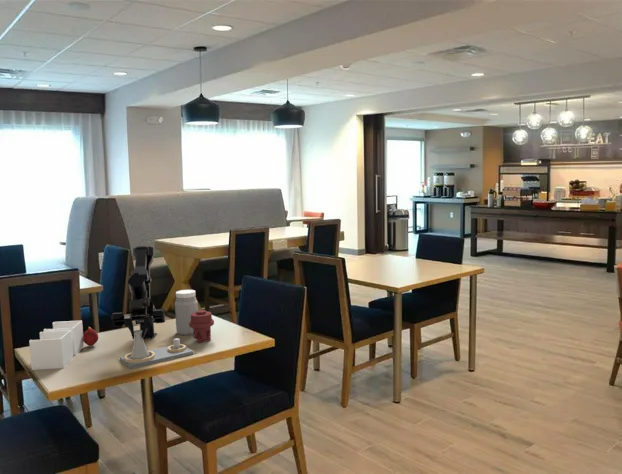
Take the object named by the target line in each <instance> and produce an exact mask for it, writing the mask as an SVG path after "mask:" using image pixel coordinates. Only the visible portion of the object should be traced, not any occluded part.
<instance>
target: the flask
mask: <svg viewBox="0 0 622 474" xmlns="http://www.w3.org/2000/svg"><path fill="white" fill-rule="evenodd" d="M142 331H143V330H140V329H137V330H134V339H133V345H132V349H131V351H130V353H131V356H130V359H143V358H147V357H149V356H150V354H149V352H148V351H149V350H148V348H147V345H146V344H145V341H144V339H143V338H142Z"/></svg>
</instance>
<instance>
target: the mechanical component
mask: <svg viewBox="0 0 622 474" xmlns="http://www.w3.org/2000/svg"><path fill="white" fill-rule="evenodd" d="M212 317H213V316H212V312H211V311H207V310H205V309H200V310H199V309H198V311H196V312H194V313H192V314H191V321H190V322H189V326H190V327H191V328H193V334H192V336H193V339H195V340H197V343H199V344H202V343H203V342H207V341H210V340H211V337H212V331H211V328H212V327H213V326H214V325H215V321H214V319H213V318H212Z"/></svg>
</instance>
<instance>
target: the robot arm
mask: <svg viewBox="0 0 622 474" xmlns="http://www.w3.org/2000/svg"><path fill="white" fill-rule="evenodd" d="M132 255H133V258H135V264H134V269H132V270H131V272H130V276H128V280H127V285H128V287H129V291H130V292H129V293H131V299H130V300H129V314H124V312H122V311H121V312H113V313H112V314H111V318H110V319H111V322H112V323H111V324H112V326H113V327H115V328H116V327H122V326H124V328H128V330H129V332H130V334H131V337H132V339H133V340H135V333H134V331H135V328H134V323H133V322H135V325H139V330H143V331H142V338H143V340H144V339H154V338H155V337H156V336H157V335H158V333H157V332H155V325H154V324H164V323H165V322H166V316H165V315H166V314H165V311H164V310H163V309H157V308H155V305H154V303H153V301H152V300H151V283H152V278H151V276H150V275H151V274H150V273H151V272H150V271H151V269H150V268H151V265H152V263H153V262H154V257H155V247H152V246H151V245H137V246H135V247H134V248H132Z"/></svg>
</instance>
